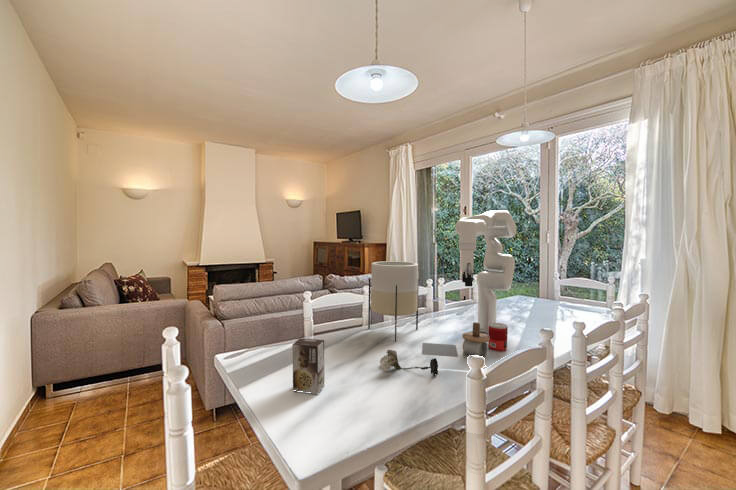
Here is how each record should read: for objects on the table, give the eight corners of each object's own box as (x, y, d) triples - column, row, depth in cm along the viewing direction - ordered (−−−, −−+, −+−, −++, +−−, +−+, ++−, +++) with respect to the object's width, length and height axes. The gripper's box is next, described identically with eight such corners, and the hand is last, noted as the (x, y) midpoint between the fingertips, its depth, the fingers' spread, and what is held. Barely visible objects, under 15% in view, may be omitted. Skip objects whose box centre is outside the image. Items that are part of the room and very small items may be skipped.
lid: (461, 333, 152) (461, 319, 152) (486, 335, 151) (487, 320, 150) (464, 341, 141) (464, 326, 141) (492, 343, 140) (492, 327, 139)
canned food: (508, 352, 151) (509, 327, 150) (489, 351, 152) (490, 326, 152) (505, 346, 158) (505, 323, 158) (487, 345, 160) (487, 322, 159)
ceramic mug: (469, 351, 152) (470, 334, 151) (487, 356, 146) (487, 338, 146) (457, 358, 144) (457, 340, 144) (476, 363, 139) (476, 344, 138)
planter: (410, 345, 159) (412, 267, 157) (356, 338, 168) (357, 264, 166) (420, 329, 184) (422, 262, 182) (373, 324, 193) (374, 260, 191)
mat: (422, 344, 161) (422, 342, 161) (455, 346, 158) (455, 345, 158) (421, 355, 146) (421, 354, 146) (458, 358, 143) (458, 356, 143)
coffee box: (325, 386, 116) (325, 339, 116) (318, 395, 110) (318, 345, 109) (300, 383, 119) (300, 337, 118) (291, 392, 112) (291, 343, 112)
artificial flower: (435, 385, 122) (430, 360, 119) (377, 380, 131) (372, 357, 129) (440, 369, 130) (436, 346, 127) (385, 365, 139) (380, 344, 137)
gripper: (457, 245, 166) (456, 280, 168) (461, 248, 149) (461, 287, 151) (473, 245, 165) (472, 281, 167) (479, 249, 148) (478, 288, 150)
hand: (467, 284), depth 159 cm, fingers open, 9 cm apart
